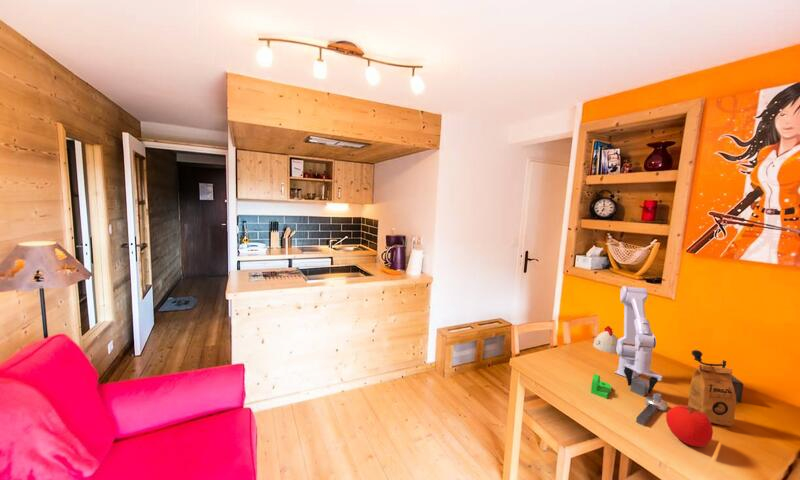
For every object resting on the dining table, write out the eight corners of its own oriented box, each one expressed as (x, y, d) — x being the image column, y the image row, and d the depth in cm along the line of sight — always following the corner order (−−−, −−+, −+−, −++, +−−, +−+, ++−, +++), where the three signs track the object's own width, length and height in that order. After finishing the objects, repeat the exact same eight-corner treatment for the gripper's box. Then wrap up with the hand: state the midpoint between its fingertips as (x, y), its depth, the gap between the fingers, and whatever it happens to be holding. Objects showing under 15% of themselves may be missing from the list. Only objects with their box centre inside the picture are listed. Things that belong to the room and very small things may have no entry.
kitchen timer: (598, 354, 185) (601, 329, 183) (588, 344, 198) (591, 321, 197) (625, 357, 183) (628, 332, 181) (613, 347, 196) (616, 323, 195)
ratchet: (648, 399, 140) (650, 387, 140) (668, 407, 135) (670, 395, 134) (629, 419, 126) (630, 405, 125) (651, 429, 120) (653, 415, 120)
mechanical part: (606, 399, 140) (608, 381, 139) (590, 393, 144) (592, 376, 143) (612, 388, 148) (614, 372, 148) (597, 383, 152) (599, 367, 152)
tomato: (714, 445, 113) (719, 411, 112) (705, 459, 106) (710, 423, 105) (670, 425, 123) (674, 394, 122) (659, 436, 116) (663, 403, 115)
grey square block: (634, 387, 150) (635, 375, 149) (647, 393, 146) (649, 380, 145) (630, 391, 146) (631, 378, 146) (644, 396, 142) (645, 383, 142)
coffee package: (737, 431, 122) (746, 375, 120) (697, 423, 125) (704, 369, 123) (720, 415, 131) (728, 363, 129) (683, 408, 135) (690, 358, 133)
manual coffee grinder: (726, 391, 150) (732, 354, 149) (741, 404, 140) (747, 364, 138) (685, 383, 156) (690, 348, 154) (697, 395, 145) (702, 357, 144)
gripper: (621, 356, 148) (617, 384, 149) (660, 369, 136) (656, 399, 138) (626, 352, 152) (623, 379, 153) (665, 364, 141) (661, 394, 142)
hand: (639, 388), depth 146 cm, fingers open, 7 cm apart
